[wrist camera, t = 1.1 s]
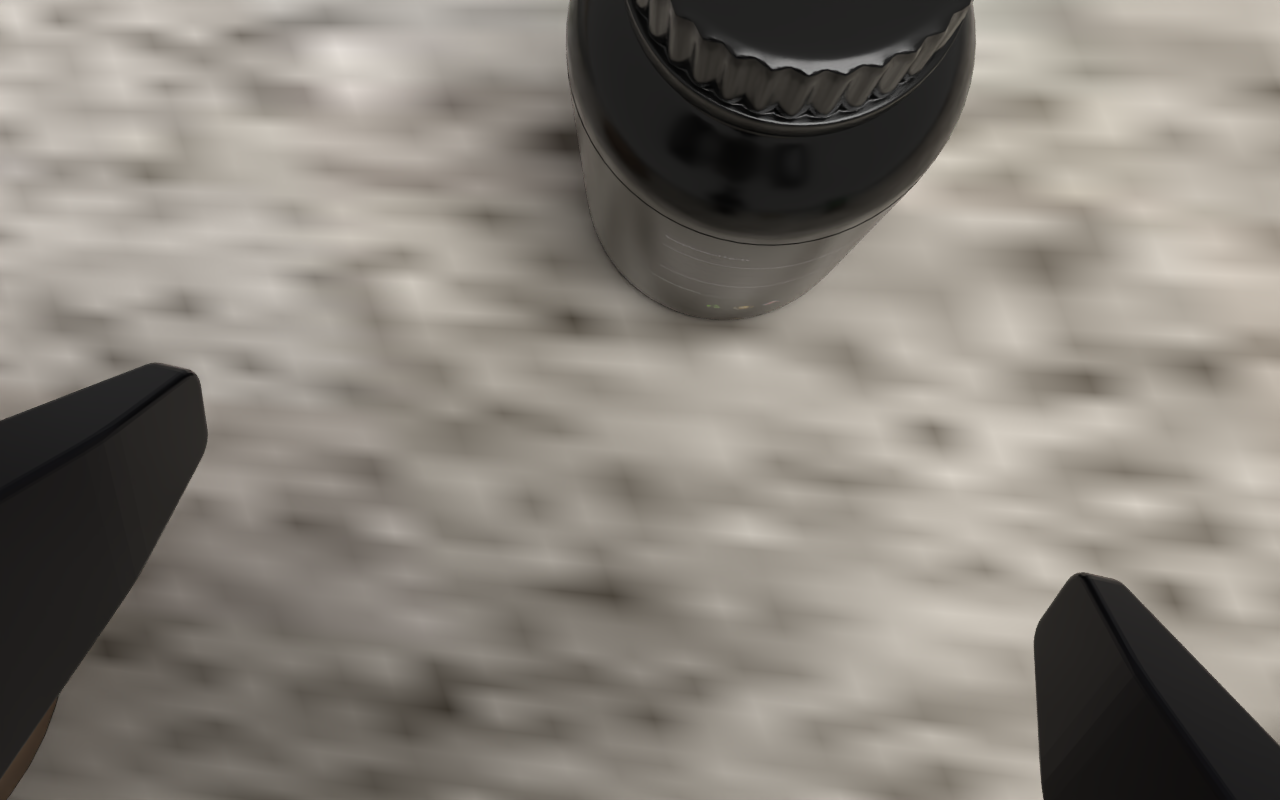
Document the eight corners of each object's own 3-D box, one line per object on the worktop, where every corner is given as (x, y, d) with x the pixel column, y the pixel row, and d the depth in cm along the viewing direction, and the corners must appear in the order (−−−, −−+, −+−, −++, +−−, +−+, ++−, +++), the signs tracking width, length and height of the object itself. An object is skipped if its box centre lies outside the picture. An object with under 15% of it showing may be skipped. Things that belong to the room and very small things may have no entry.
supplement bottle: (574, 77, 23) (525, -353, 12) (837, 57, 24) (1055, -387, 12) (597, 340, 23) (569, 172, 11) (867, 316, 23) (1132, 126, 11)
